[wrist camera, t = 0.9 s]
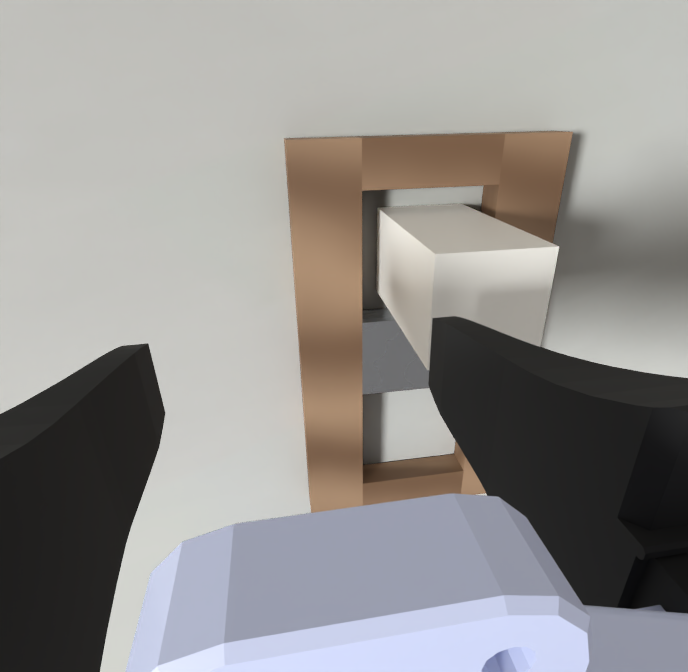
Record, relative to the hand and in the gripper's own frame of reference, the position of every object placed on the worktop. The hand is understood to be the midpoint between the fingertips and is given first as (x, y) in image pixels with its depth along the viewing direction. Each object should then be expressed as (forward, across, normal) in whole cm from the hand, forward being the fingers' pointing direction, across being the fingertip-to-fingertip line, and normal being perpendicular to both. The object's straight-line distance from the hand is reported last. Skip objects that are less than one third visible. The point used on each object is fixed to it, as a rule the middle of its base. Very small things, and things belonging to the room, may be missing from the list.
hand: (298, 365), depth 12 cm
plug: (+10, -6, 0) cm, 12 cm away
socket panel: (+10, -6, +5) cm, 13 cm away
